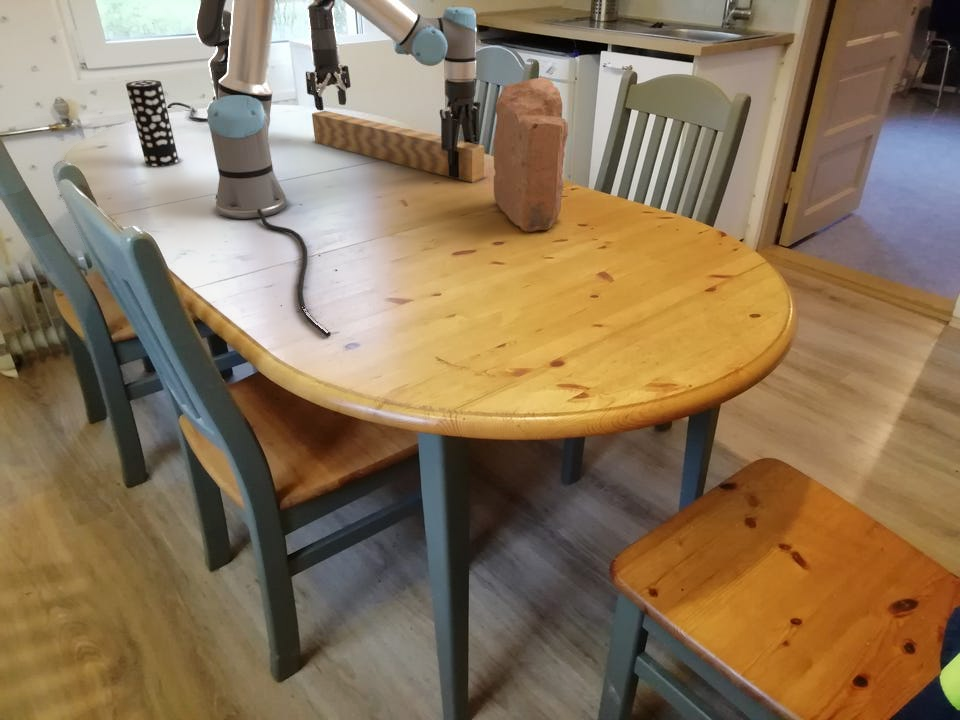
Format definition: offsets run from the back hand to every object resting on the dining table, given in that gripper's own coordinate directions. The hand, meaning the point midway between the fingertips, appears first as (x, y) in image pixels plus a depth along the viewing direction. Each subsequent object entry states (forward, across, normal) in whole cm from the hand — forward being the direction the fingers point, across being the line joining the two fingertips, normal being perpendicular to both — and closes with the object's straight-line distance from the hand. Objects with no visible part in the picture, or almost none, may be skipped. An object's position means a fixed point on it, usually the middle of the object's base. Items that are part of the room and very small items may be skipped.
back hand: (331, 107), depth 198 cm
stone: (+11, +13, +77) cm, 79 cm away
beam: (+11, 0, +24) cm, 26 cm away
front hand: (+10, 0, +48) cm, 49 cm away
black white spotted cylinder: (0, +42, -22) cm, 48 cm away
